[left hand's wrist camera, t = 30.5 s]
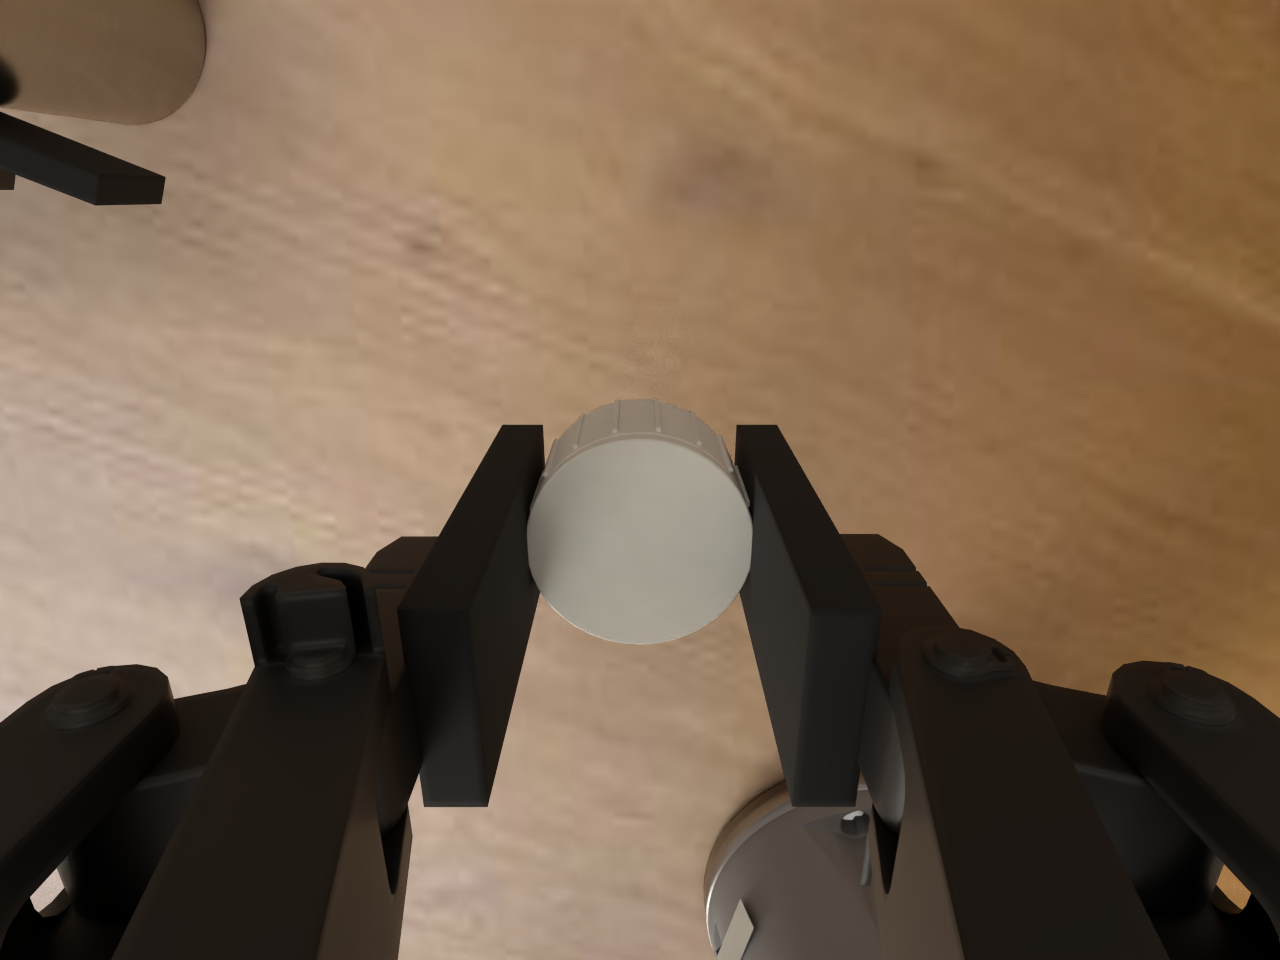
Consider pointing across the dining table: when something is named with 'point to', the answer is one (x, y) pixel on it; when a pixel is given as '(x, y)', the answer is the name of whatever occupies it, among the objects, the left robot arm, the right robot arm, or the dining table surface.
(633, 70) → the dining table surface
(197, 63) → the bottle
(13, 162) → the right robot arm
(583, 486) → the cap
